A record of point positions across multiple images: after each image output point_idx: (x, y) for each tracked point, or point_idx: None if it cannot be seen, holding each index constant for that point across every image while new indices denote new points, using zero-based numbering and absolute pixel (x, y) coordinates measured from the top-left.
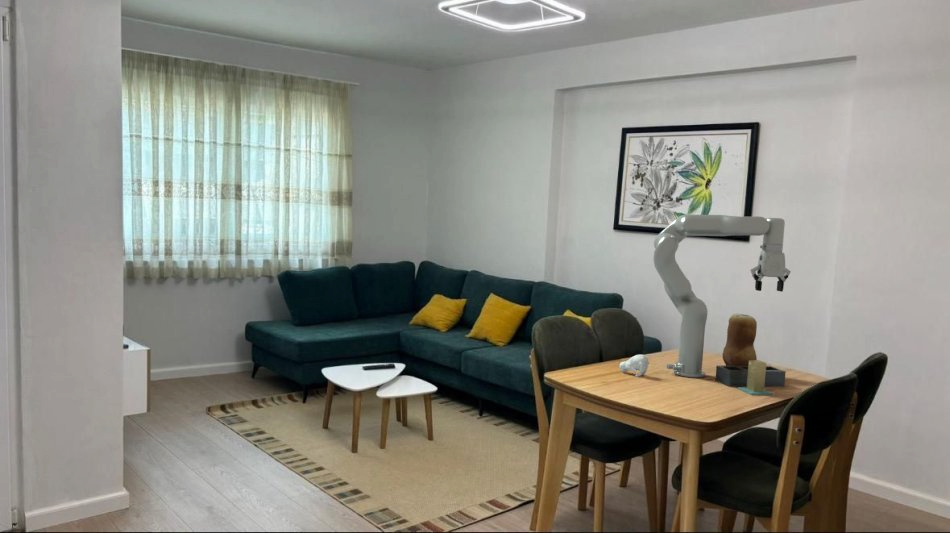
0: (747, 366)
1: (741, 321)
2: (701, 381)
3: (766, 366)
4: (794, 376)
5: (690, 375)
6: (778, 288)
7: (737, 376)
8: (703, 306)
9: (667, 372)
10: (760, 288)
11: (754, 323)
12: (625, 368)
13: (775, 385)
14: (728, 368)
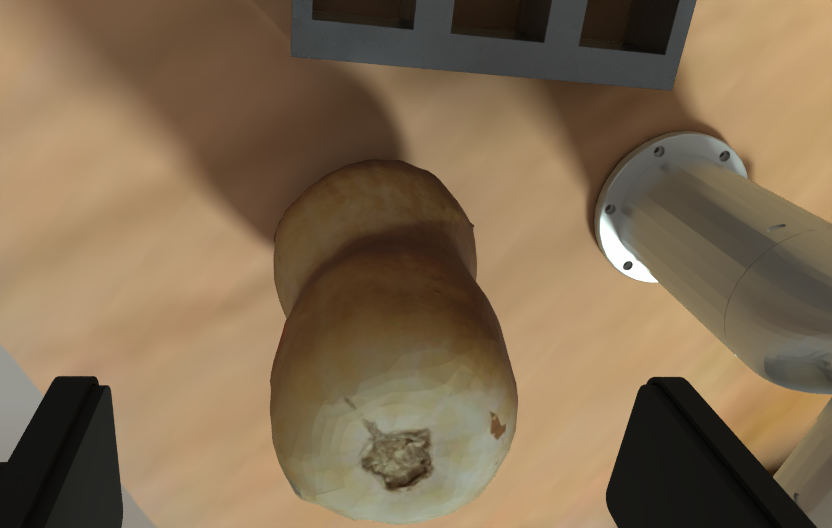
0: (484, 47)
1: (488, 349)
2: (724, 57)
3: (338, 35)
4: (28, 128)
5: (724, 143)
6: (103, 514)
7: None
8: None
9: None
10: (700, 402)
11: (357, 328)
12: None
13: None
14: (616, 49)
